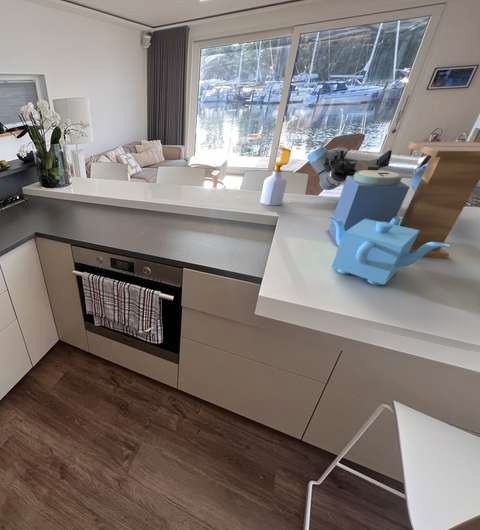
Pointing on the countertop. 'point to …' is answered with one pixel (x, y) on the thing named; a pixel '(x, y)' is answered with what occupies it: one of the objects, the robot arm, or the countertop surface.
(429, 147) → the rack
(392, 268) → the teakettle
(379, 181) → the clock
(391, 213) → the slate blue block
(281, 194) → the soap bottle
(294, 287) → the countertop surface
